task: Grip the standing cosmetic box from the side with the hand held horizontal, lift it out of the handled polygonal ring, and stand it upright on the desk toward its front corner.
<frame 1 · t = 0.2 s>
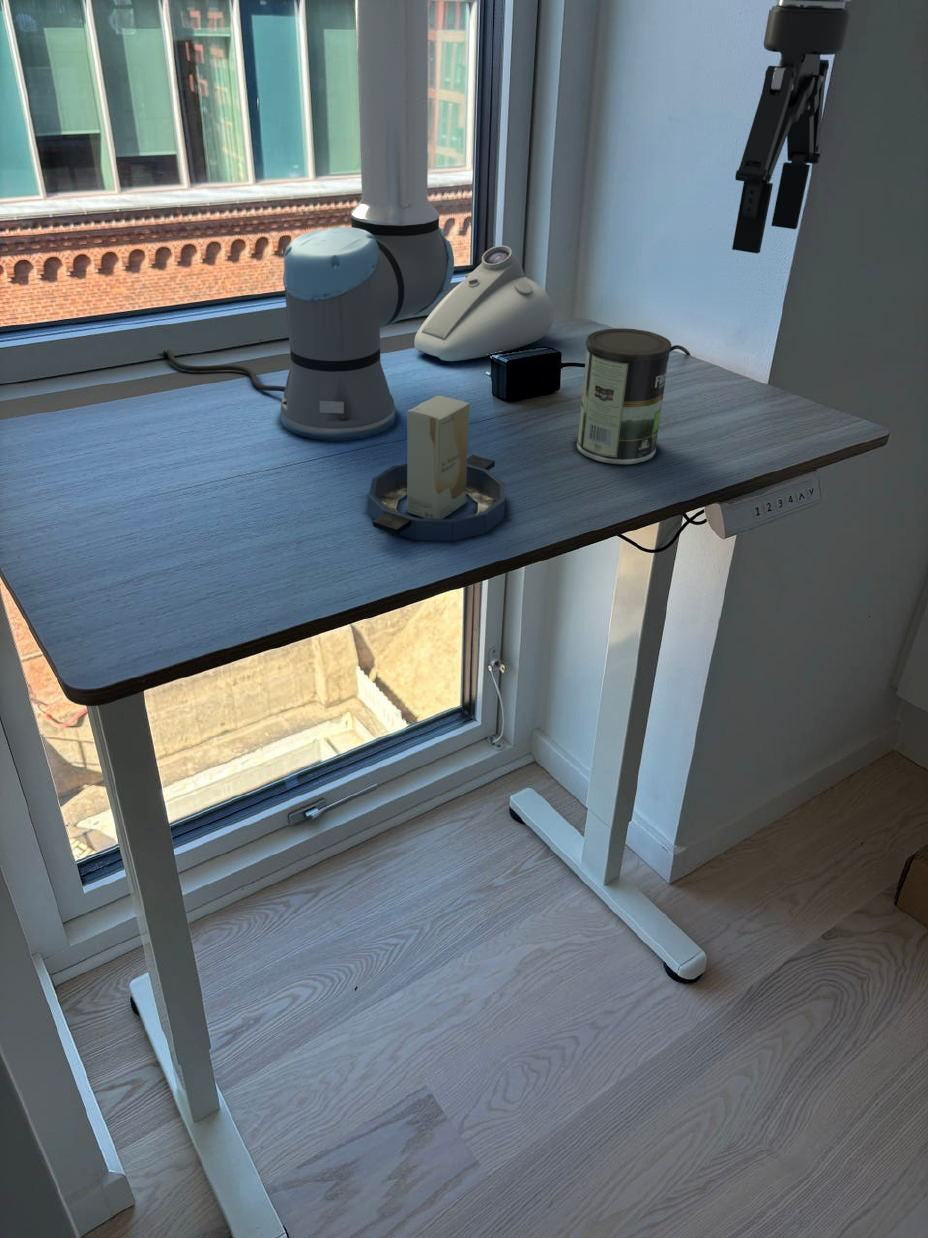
hand: (765, 238, 104), 28 cm above the table, tool pointing down, fingers open, 13 cm apart
handled polygonal ring: (437, 507, 110), on the table
projector: (479, 347, 157), on the table
cosmetic box: (437, 509, 111), resting in handled polygonal ring
coffee can: (615, 449, 125), on the table
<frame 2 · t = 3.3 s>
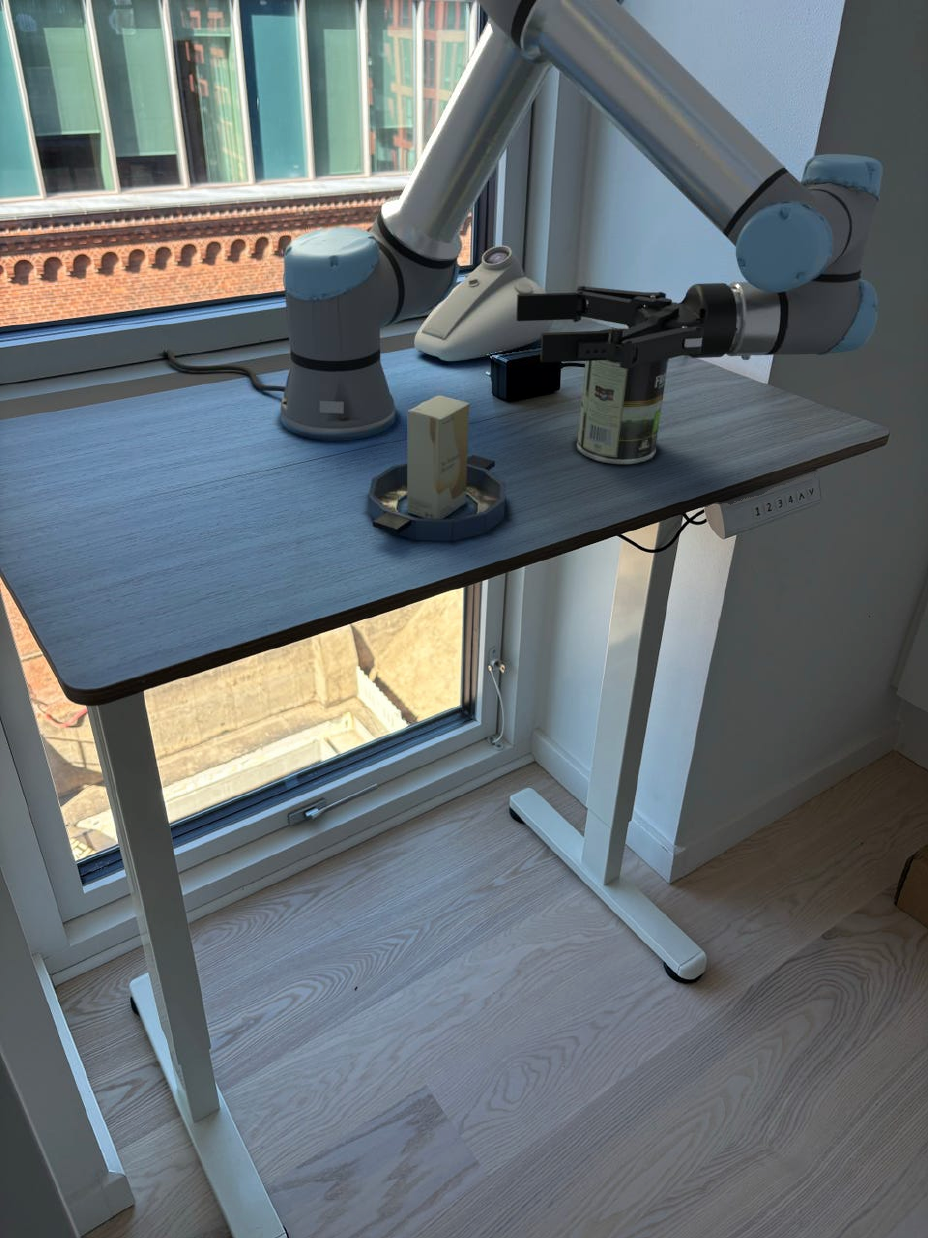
hand: (528, 326, 100), 21 cm above the table, tool horizontal, fingers open, 13 cm apart
nothing on the table moved.
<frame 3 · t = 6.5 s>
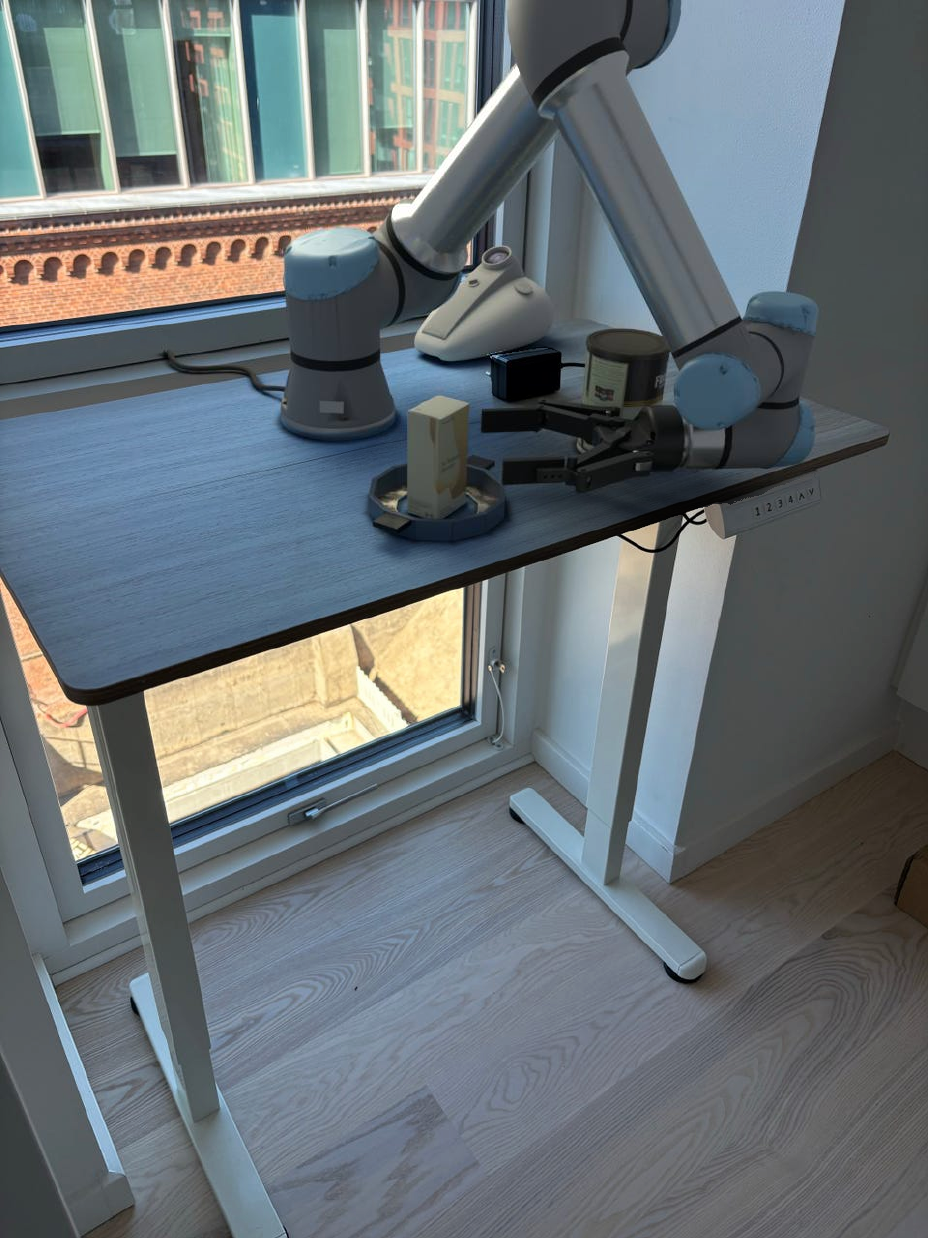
hand: (491, 445, 107), 7 cm above the table, tool horizontal, fingers open, 13 cm apart
nothing on the table moved.
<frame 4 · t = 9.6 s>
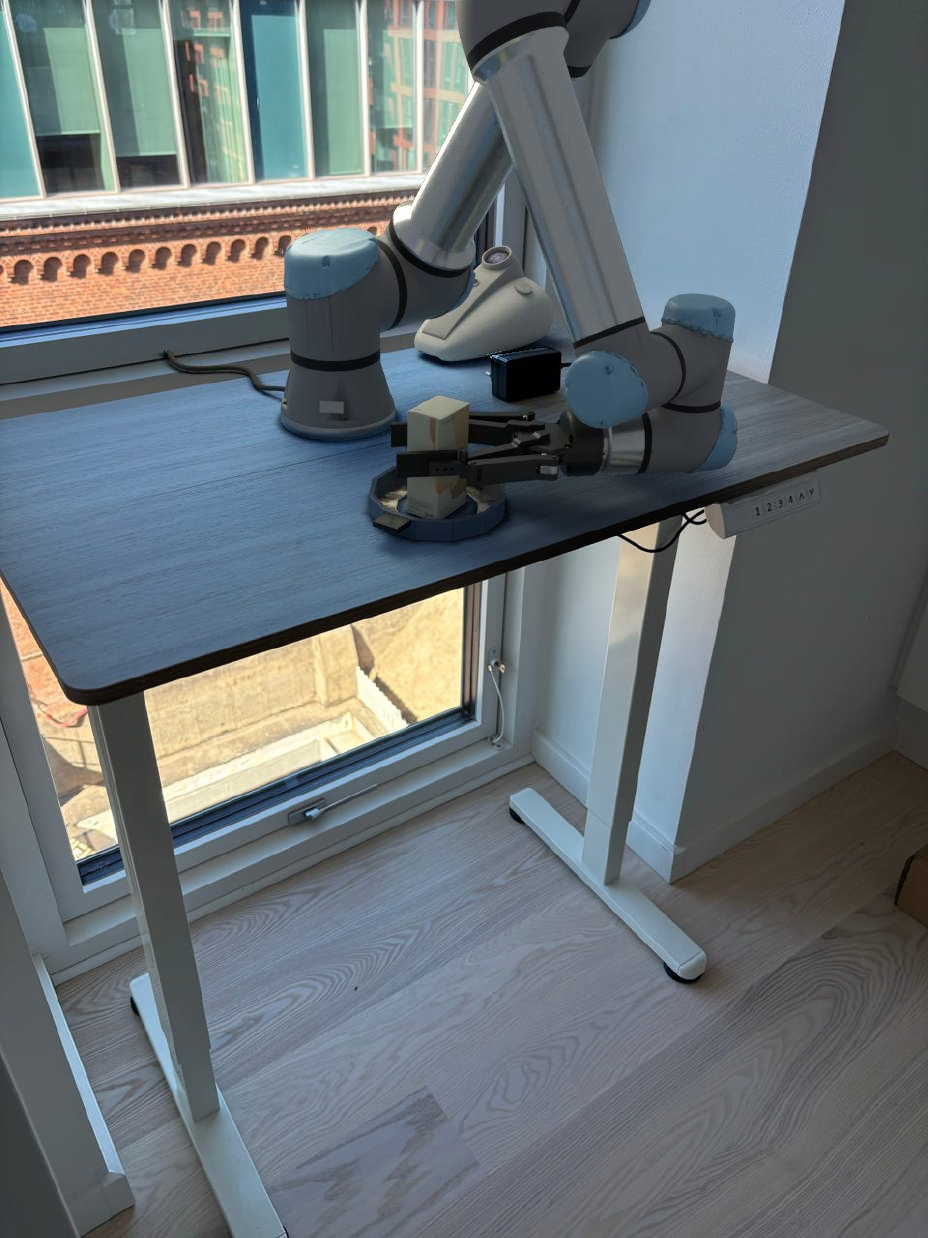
hand: (393, 449, 106), 7 cm above the table, tool horizontal, fingers closed on cosmetic box, 7 cm apart
cosmetic box: (437, 509, 110), resting in handled polygonal ring, touching gripper
everything else where it was.
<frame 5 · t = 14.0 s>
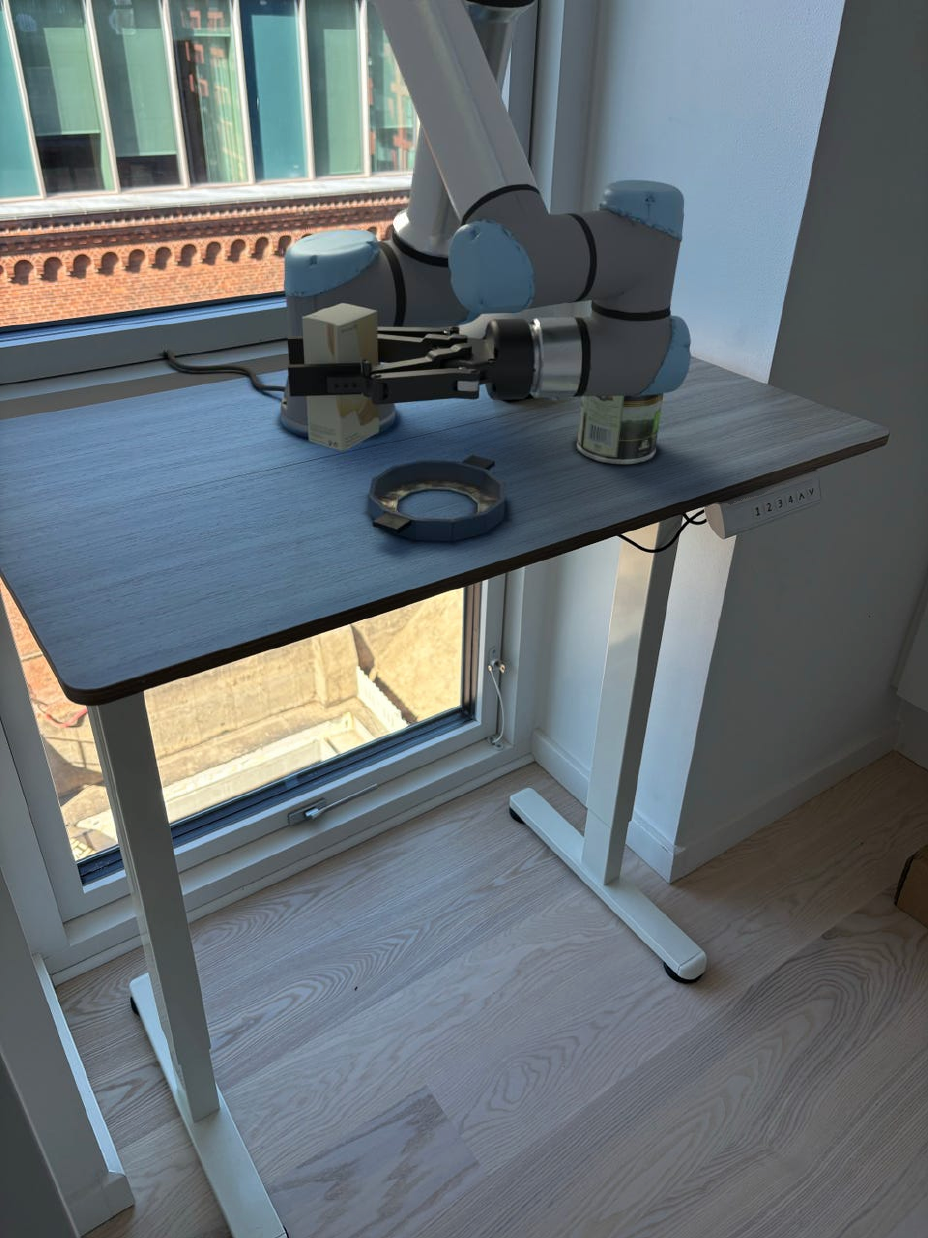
hand: (289, 365, 90), 20 cm above the table, tool horizontal, fingers closed on cosmetic box, 7 cm apart
cosmetic box: (345, 439, 95), point 12 cm above the table, touching gripper
everything else where it was.
when the fingers open (7 cm above the table, at t = 18.6 s): cosmetic box stays where it is, on the table.
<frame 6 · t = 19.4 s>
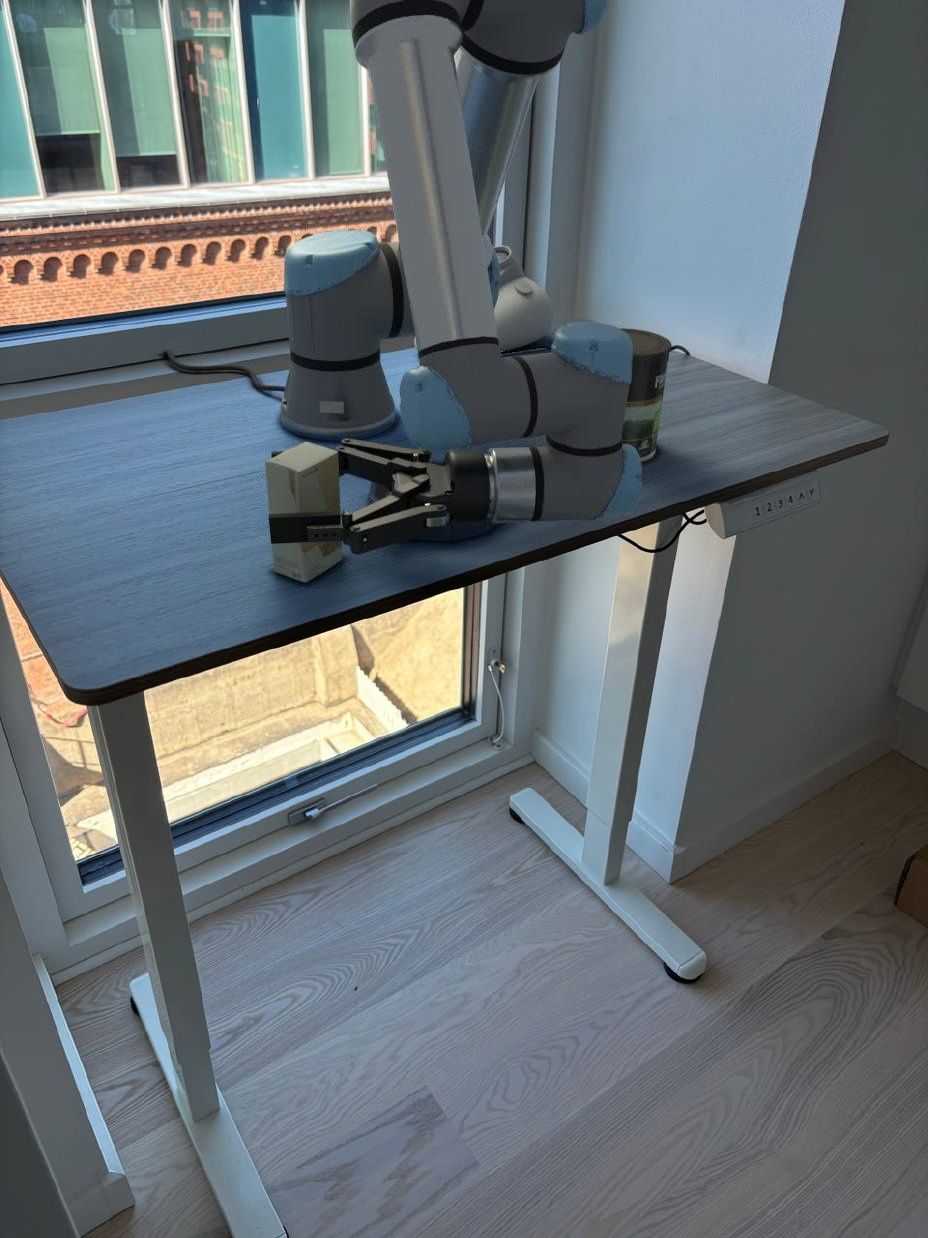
hand: (270, 495, 94), 8 cm above the table, tool horizontal, fingers open, 13 cm apart
cosmetic box: (309, 567, 99), on the table
everything else where it was.
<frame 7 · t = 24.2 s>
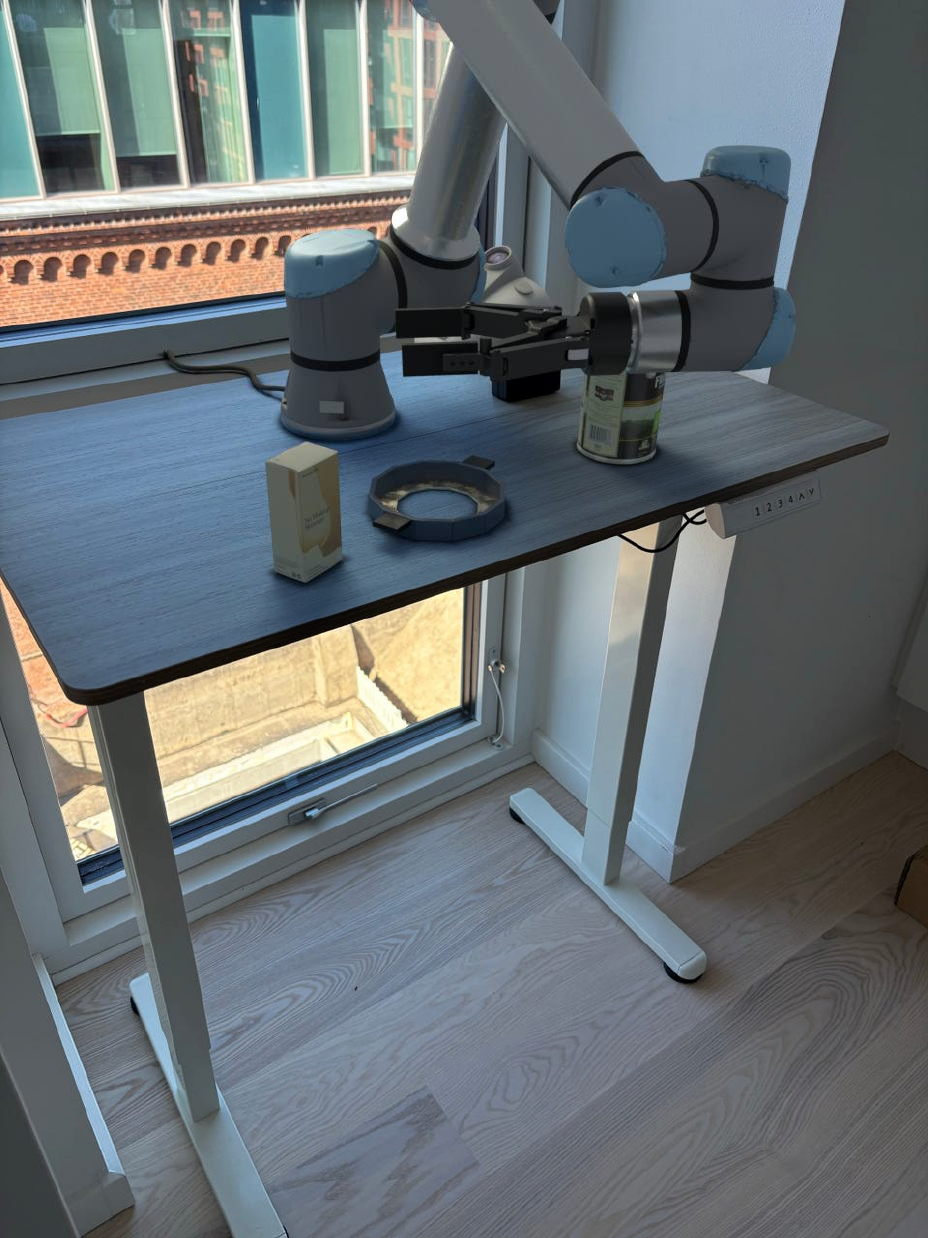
hand: (398, 340, 89), 23 cm above the table, tool horizontal, fingers open, 13 cm apart
nothing on the table moved.
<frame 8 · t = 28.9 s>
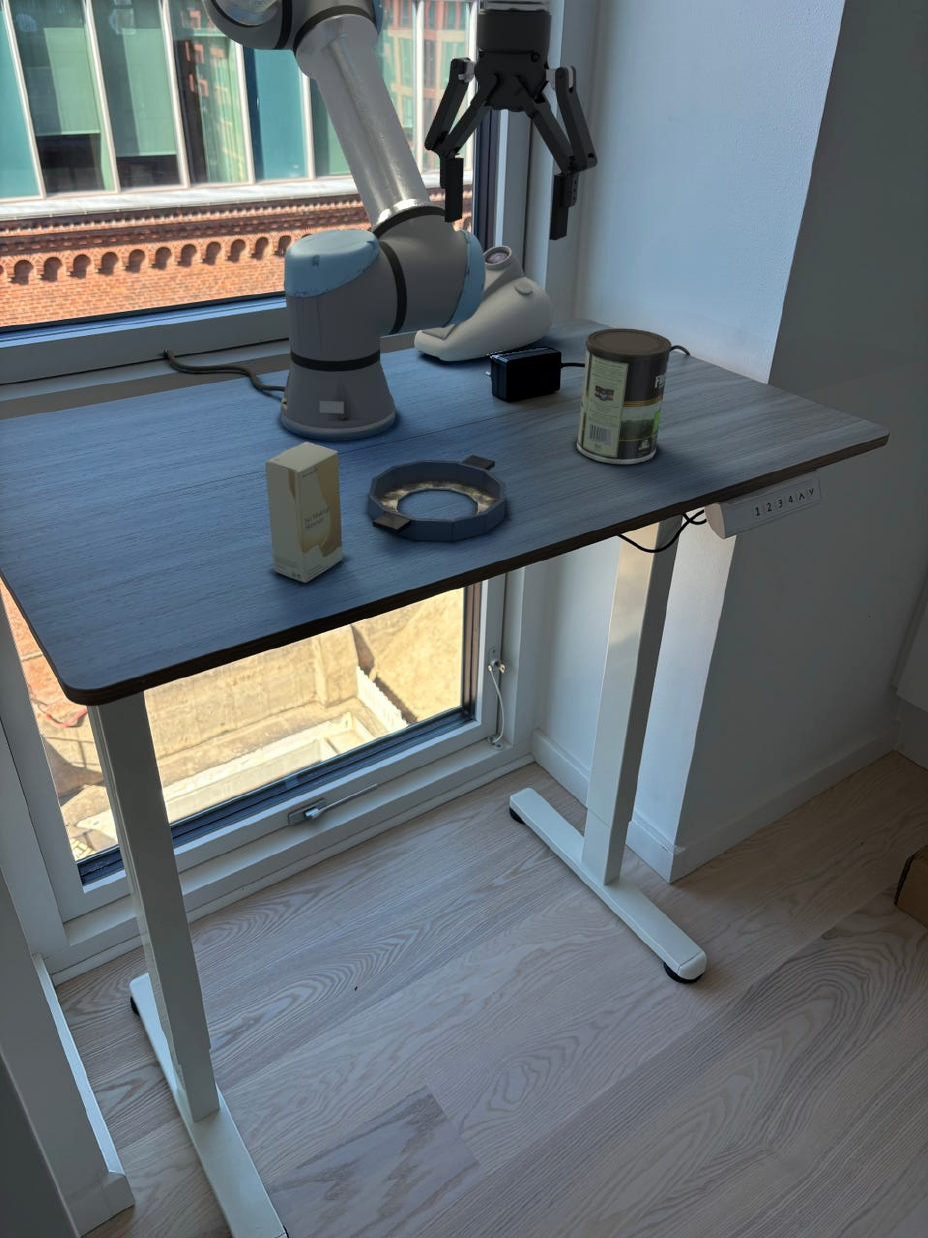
hand: (504, 229, 109), 27 cm above the table, tool pointing down, fingers open, 13 cm apart
nothing on the table moved.
at the end: cosmetic box inside the target area (0.1 cm from its centre), on the table; cosmetic box tilted 0°; the gripper is holding nothing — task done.
